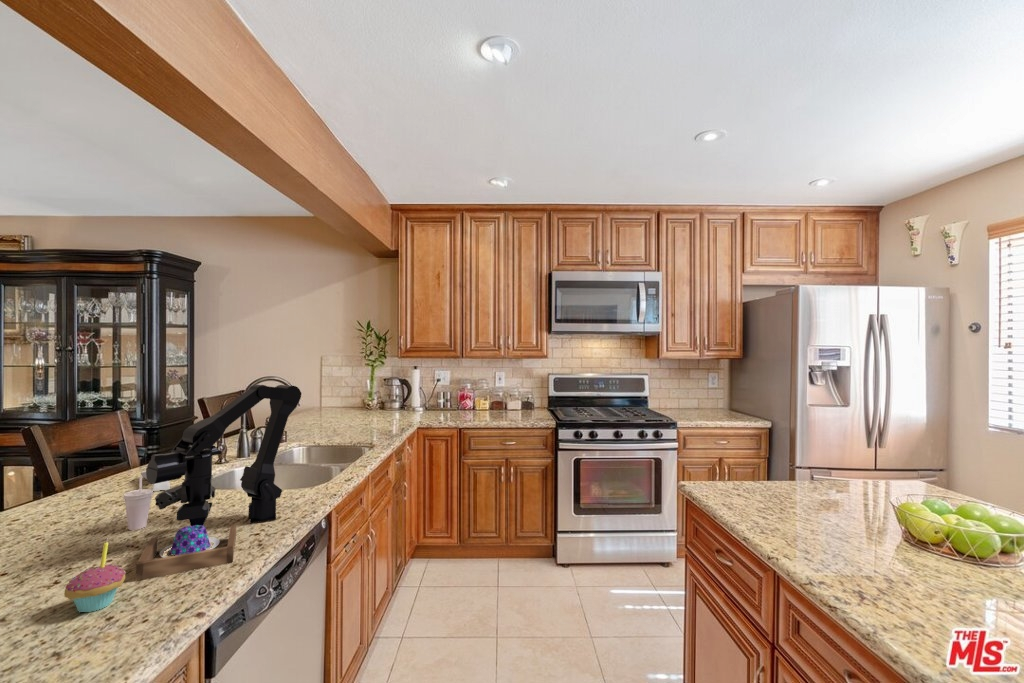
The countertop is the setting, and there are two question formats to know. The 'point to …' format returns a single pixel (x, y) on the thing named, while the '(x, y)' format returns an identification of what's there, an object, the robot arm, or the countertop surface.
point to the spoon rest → (158, 484)
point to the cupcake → (95, 585)
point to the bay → (183, 559)
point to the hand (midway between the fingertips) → (196, 535)
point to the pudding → (190, 541)
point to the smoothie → (138, 506)
